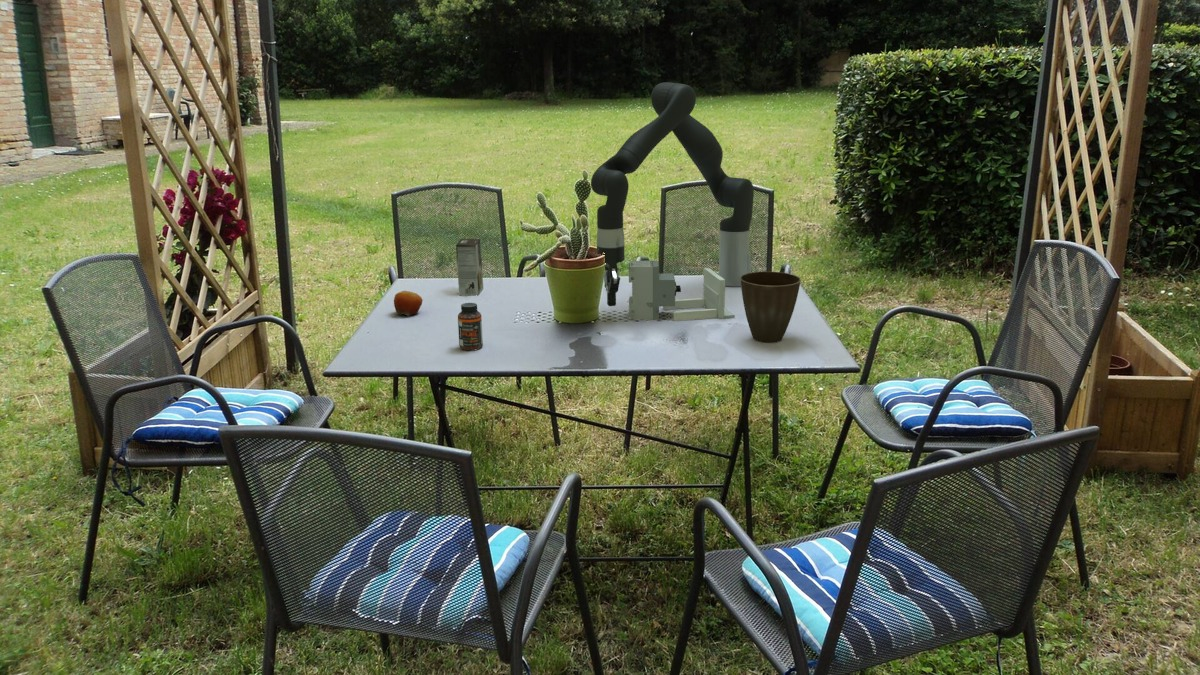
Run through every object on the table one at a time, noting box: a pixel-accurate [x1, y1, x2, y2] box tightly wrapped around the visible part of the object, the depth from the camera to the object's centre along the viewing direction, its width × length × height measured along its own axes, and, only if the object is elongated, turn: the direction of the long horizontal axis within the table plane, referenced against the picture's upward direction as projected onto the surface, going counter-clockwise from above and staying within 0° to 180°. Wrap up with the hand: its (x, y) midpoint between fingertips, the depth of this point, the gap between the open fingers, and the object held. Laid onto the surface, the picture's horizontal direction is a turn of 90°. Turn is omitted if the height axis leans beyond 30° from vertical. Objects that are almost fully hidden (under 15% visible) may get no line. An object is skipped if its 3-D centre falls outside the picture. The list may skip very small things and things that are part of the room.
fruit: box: [393, 290, 423, 318], centre depth 264 cm, size 8×8×8 cm
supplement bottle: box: [457, 302, 484, 351], centre depth 233 cm, size 6×6×11 cm
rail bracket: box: [662, 267, 735, 322], centre depth 260 cm, size 17×15×11 cm
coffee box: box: [455, 238, 484, 297], centre depth 286 cm, size 9×6×16 cm
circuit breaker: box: [628, 260, 682, 321], centre depth 257 cm, size 8×14×15 cm, turn 89°
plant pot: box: [740, 270, 801, 344], centre depth 234 cm, size 15×15×16 cm
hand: (611, 305), depth 256 cm, fingers closed
